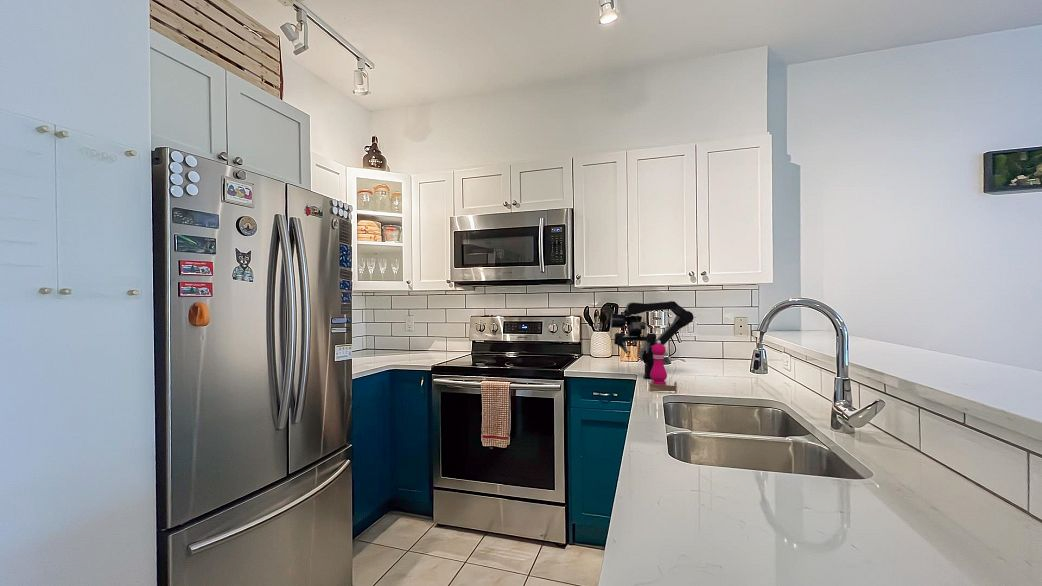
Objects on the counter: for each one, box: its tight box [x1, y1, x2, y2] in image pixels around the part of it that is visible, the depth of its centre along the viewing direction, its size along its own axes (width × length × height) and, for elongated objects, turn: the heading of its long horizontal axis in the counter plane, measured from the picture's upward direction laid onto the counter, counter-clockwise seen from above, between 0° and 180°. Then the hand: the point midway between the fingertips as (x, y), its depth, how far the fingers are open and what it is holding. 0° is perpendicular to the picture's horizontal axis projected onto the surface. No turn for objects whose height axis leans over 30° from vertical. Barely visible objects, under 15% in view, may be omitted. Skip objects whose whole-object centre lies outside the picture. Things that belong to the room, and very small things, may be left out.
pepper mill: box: [650, 340, 668, 385], centre depth 194 cm, size 7×7×20 cm
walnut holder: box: [649, 379, 678, 392], centre depth 185 cm, size 9×10×3 cm
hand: (637, 353), depth 198 cm, fingers open, 9 cm apart
